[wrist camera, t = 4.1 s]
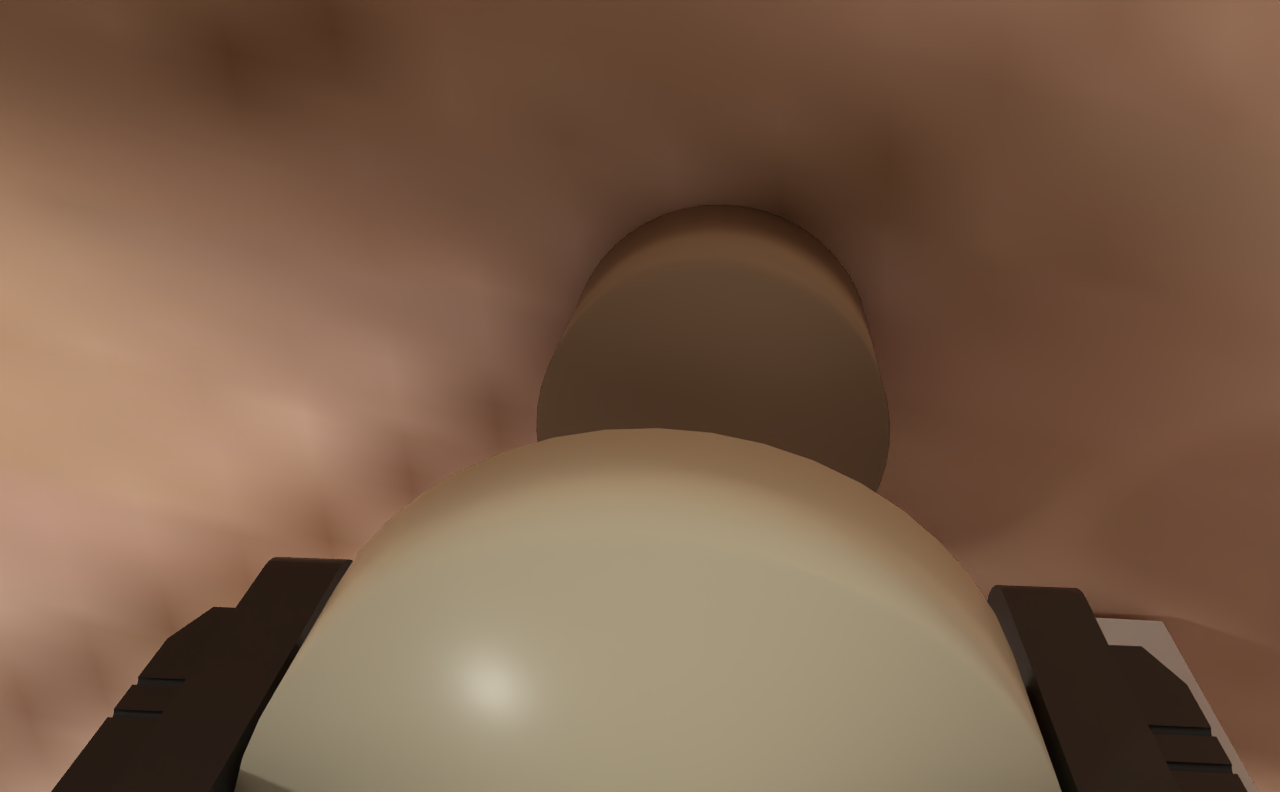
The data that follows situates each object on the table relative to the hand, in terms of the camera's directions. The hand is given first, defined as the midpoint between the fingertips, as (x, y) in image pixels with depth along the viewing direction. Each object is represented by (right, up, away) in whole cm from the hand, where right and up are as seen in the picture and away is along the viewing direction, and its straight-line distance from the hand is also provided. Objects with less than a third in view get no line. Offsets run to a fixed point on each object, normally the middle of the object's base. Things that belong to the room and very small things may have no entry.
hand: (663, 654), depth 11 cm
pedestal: (+1, +3, +9) cm, 9 cm away
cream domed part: (0, 0, -1) cm, 1 cm away
